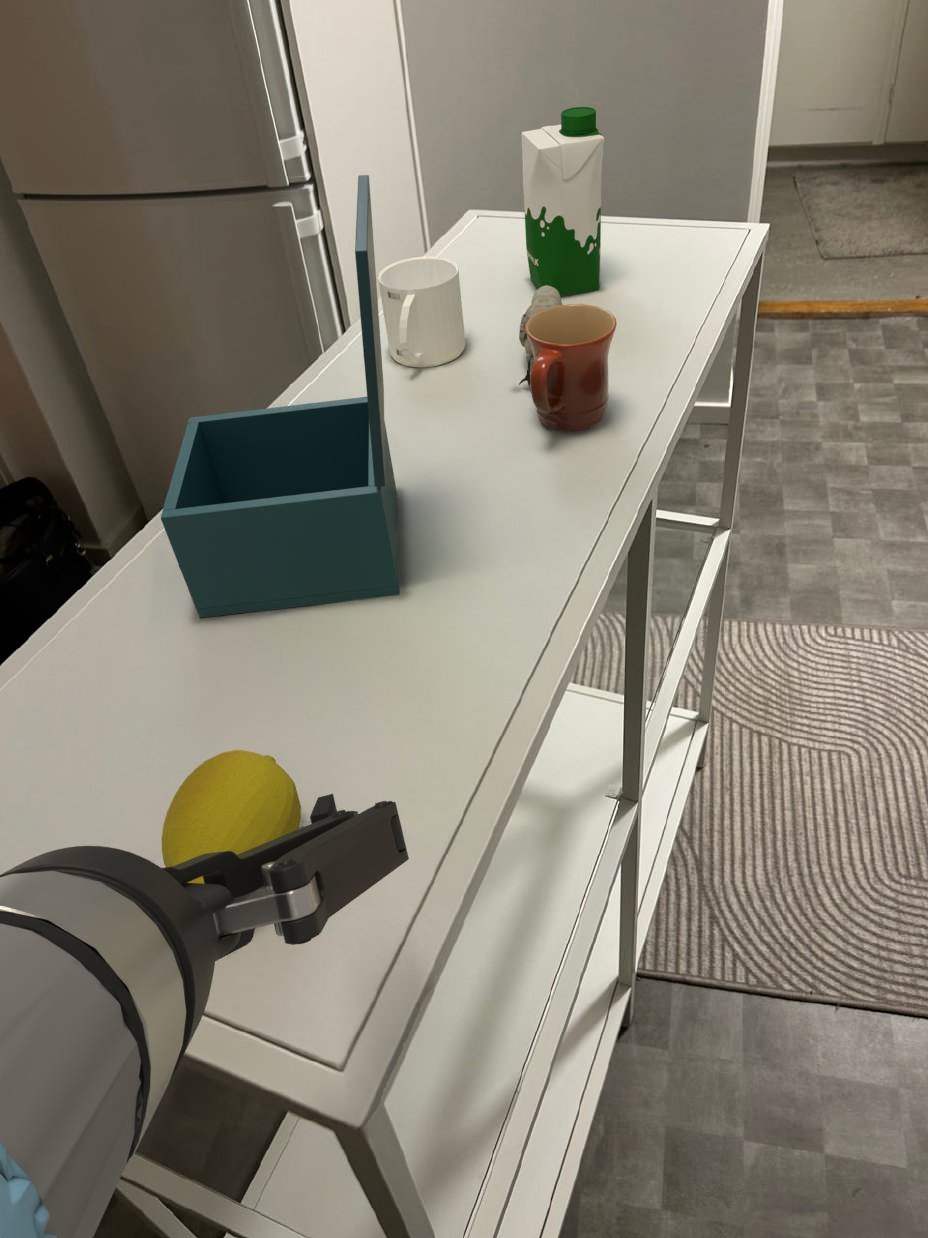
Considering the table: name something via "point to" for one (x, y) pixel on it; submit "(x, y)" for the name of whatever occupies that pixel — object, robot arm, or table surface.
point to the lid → (370, 327)
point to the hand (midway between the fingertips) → (195, 857)
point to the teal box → (282, 509)
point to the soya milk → (564, 202)
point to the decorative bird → (540, 301)
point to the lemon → (229, 807)
